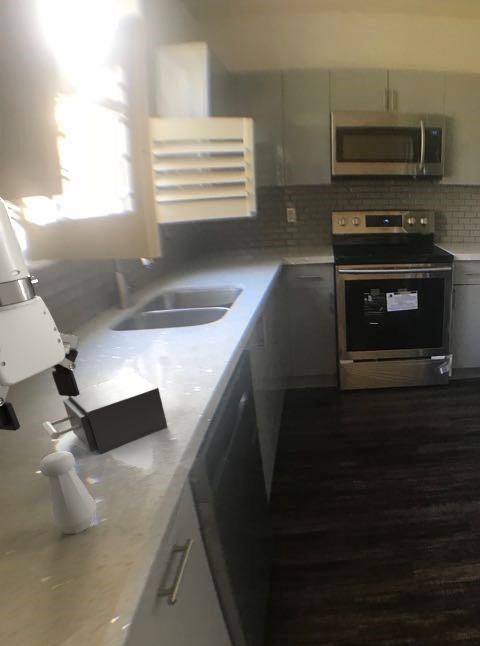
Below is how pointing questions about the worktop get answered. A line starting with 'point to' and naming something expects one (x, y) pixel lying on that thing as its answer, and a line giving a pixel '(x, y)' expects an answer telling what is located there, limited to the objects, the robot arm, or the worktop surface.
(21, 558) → the worktop surface
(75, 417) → the drawer
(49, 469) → the salt shaker
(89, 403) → the dark grey box
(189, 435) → the worktop surface
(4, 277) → the robot arm
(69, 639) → the worktop surface
